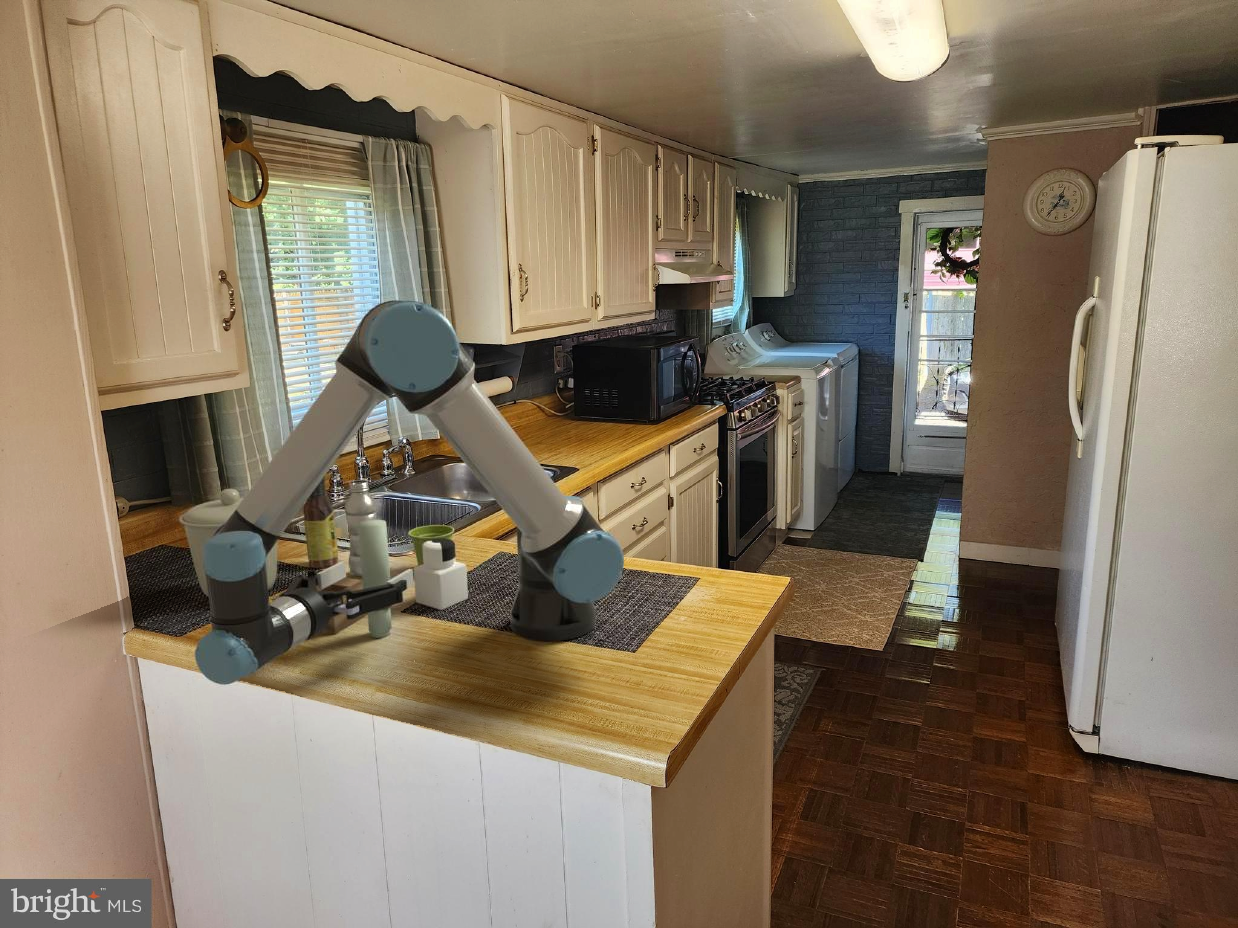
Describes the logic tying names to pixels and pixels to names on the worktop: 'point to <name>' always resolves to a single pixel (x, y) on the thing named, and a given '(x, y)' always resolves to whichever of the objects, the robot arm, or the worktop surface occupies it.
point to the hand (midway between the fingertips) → (377, 572)
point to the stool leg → (375, 570)
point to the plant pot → (428, 537)
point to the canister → (204, 525)
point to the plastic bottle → (358, 519)
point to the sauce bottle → (320, 529)
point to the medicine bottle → (440, 575)
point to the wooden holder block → (341, 620)
